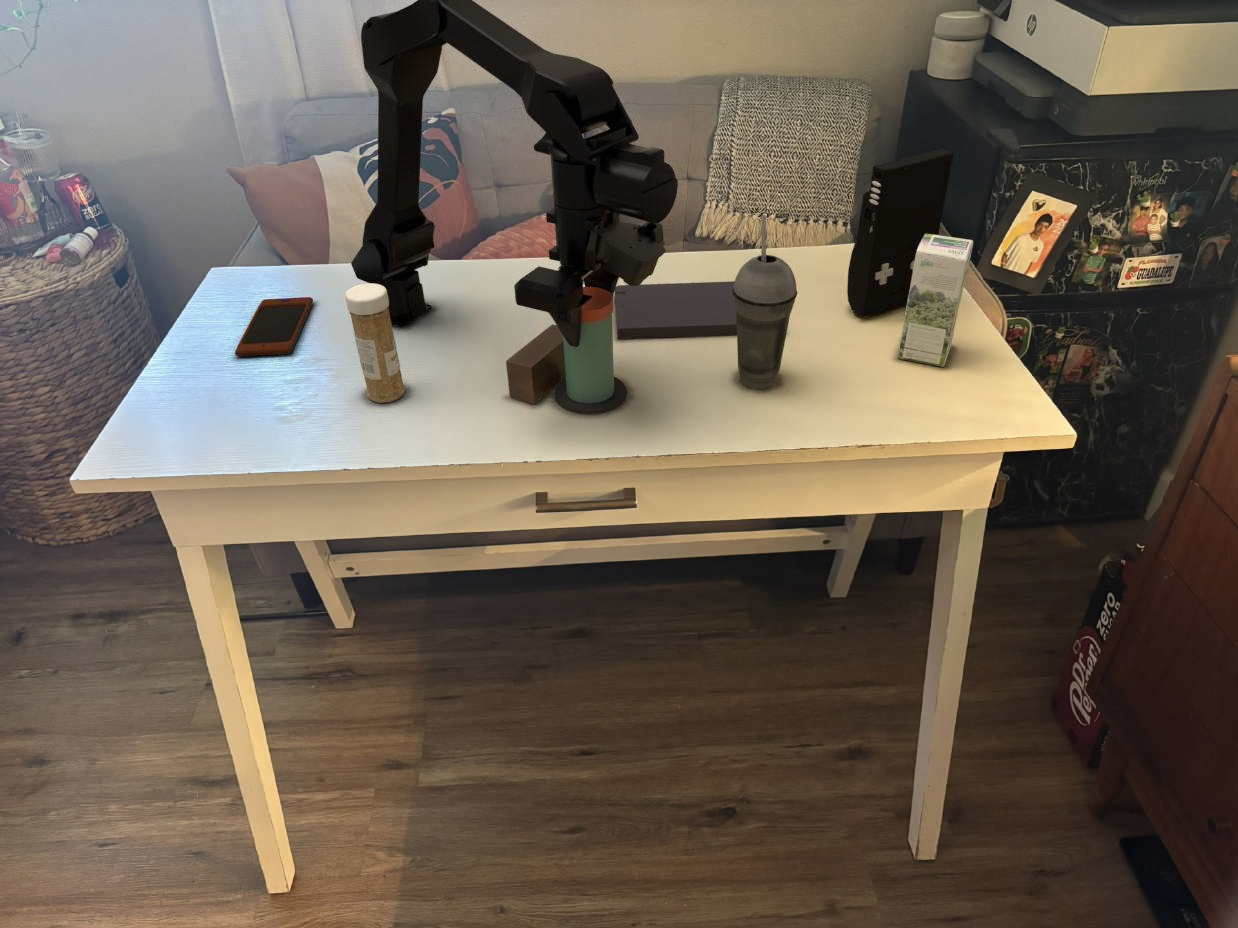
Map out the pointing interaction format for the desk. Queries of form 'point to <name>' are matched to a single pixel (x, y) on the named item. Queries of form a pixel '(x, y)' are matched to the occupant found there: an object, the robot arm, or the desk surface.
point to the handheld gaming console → (895, 229)
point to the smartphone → (274, 327)
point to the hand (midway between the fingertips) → (587, 334)
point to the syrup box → (934, 298)
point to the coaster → (593, 408)
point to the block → (537, 366)
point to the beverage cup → (762, 315)
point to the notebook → (675, 310)
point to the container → (592, 351)
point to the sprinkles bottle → (375, 341)
